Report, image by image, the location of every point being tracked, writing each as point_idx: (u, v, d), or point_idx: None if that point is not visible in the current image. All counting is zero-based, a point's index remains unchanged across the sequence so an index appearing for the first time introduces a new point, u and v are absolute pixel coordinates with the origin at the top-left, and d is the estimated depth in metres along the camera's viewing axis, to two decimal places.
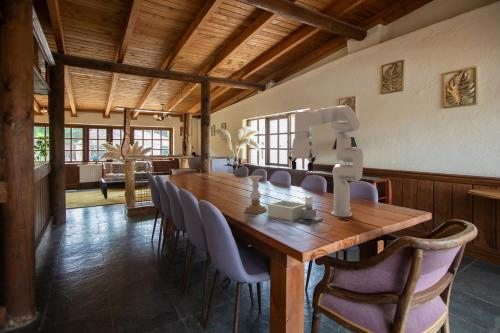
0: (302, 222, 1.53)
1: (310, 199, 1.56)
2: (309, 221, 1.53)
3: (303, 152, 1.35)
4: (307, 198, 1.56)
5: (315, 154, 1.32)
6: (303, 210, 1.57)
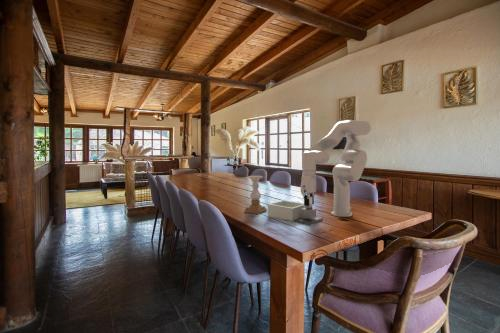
0: (302, 222, 1.53)
1: (310, 199, 1.56)
2: (309, 221, 1.53)
3: (314, 187, 1.57)
4: None
5: (315, 191, 1.61)
6: (303, 210, 1.57)
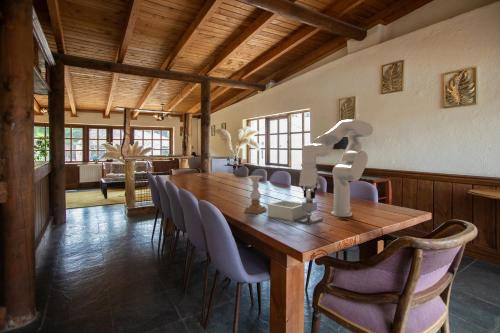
0: (302, 222, 1.53)
1: None
2: (309, 221, 1.53)
3: None
4: None
5: None
6: (312, 204, 1.55)
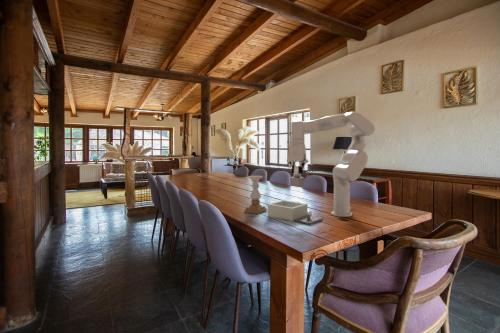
0: (302, 222, 1.53)
1: None
2: (309, 221, 1.53)
3: None
4: None
5: None
6: (300, 179, 1.59)
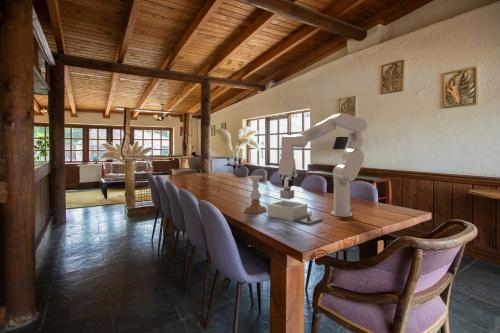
0: (302, 222, 1.53)
1: None
2: (309, 221, 1.53)
3: None
4: None
5: None
6: (289, 192, 1.64)
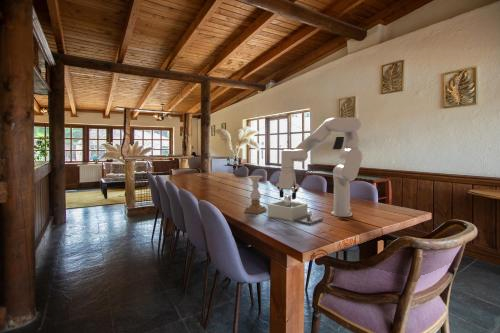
0: (302, 222, 1.53)
1: None
2: (309, 221, 1.53)
3: None
4: (290, 197, 1.67)
5: None
6: None
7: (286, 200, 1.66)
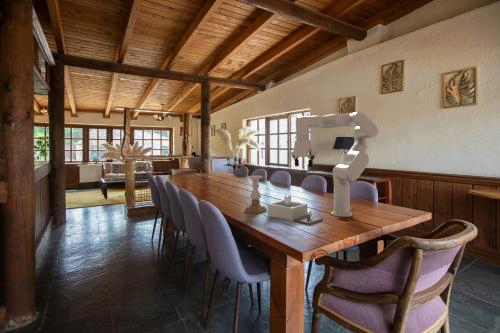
0: (302, 222, 1.53)
1: None
2: (309, 221, 1.53)
3: None
4: (290, 197, 1.67)
5: None
6: None
7: (286, 200, 1.66)
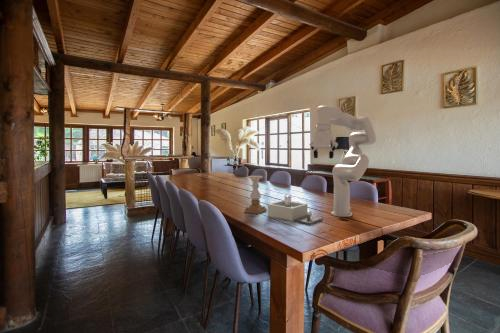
0: (302, 222, 1.53)
1: None
2: (309, 221, 1.53)
3: None
4: (290, 197, 1.67)
5: None
6: None
7: (286, 200, 1.66)
